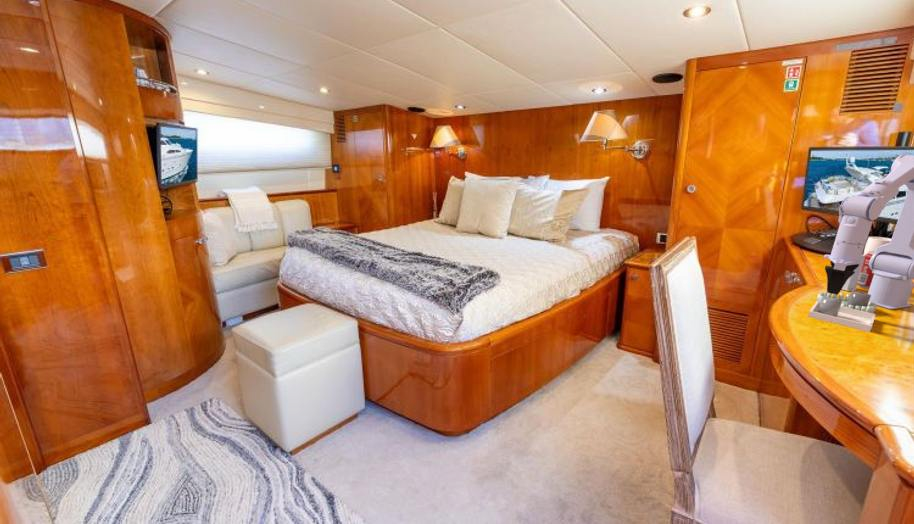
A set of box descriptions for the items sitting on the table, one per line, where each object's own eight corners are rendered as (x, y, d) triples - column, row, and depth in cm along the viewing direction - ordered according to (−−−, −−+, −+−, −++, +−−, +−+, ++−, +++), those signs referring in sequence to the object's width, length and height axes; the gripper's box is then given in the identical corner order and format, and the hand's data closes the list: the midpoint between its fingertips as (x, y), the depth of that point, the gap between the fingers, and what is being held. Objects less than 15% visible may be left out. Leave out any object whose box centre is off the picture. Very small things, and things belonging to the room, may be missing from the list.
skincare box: (855, 290, 128) (867, 255, 125) (846, 291, 127) (858, 256, 123) (834, 284, 134) (844, 250, 130) (825, 285, 132) (835, 251, 129)
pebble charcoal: (852, 304, 115) (857, 290, 113) (869, 309, 111) (874, 295, 110) (843, 306, 113) (847, 291, 112) (860, 311, 110) (865, 296, 108)
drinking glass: (887, 282, 137) (902, 241, 132) (868, 281, 137) (882, 240, 132) (868, 275, 143) (881, 236, 139) (850, 275, 143) (862, 236, 139)
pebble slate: (823, 311, 110) (828, 296, 108) (840, 316, 106) (845, 301, 105) (813, 312, 109) (818, 297, 107) (830, 318, 105) (835, 303, 104)
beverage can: (886, 291, 128) (898, 256, 124) (863, 289, 129) (875, 255, 125) (870, 284, 134) (882, 251, 130) (849, 283, 135) (860, 250, 131)
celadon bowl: (819, 296, 122) (821, 288, 122) (875, 308, 113) (878, 300, 113) (812, 306, 115) (814, 297, 114) (872, 319, 106) (875, 311, 105)
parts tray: (814, 307, 113) (816, 300, 113) (873, 321, 105) (875, 314, 104) (807, 318, 106) (809, 311, 106) (869, 334, 98) (872, 326, 97)
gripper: (833, 235, 109) (819, 280, 113) (825, 243, 100) (810, 292, 104) (869, 240, 104) (853, 287, 108) (863, 248, 95) (846, 299, 98)
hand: (834, 290), depth 105 cm, fingers open, 7 cm apart
